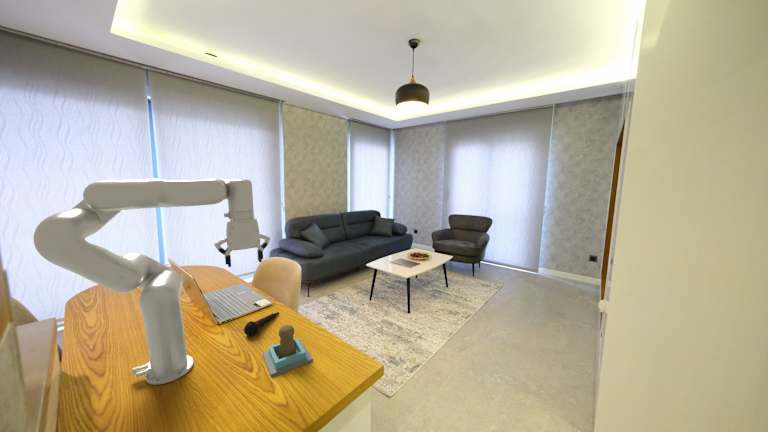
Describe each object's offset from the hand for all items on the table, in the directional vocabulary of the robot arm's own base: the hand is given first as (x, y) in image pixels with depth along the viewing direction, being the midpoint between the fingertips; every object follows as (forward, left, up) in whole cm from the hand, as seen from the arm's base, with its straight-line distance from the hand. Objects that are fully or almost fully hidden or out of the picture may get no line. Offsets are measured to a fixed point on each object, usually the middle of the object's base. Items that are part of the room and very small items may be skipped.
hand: (245, 263), depth 98 cm
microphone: (+8, +14, -34) cm, 37 cm away
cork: (+10, -12, -33) cm, 36 cm away
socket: (+10, -12, -33) cm, 37 cm away
